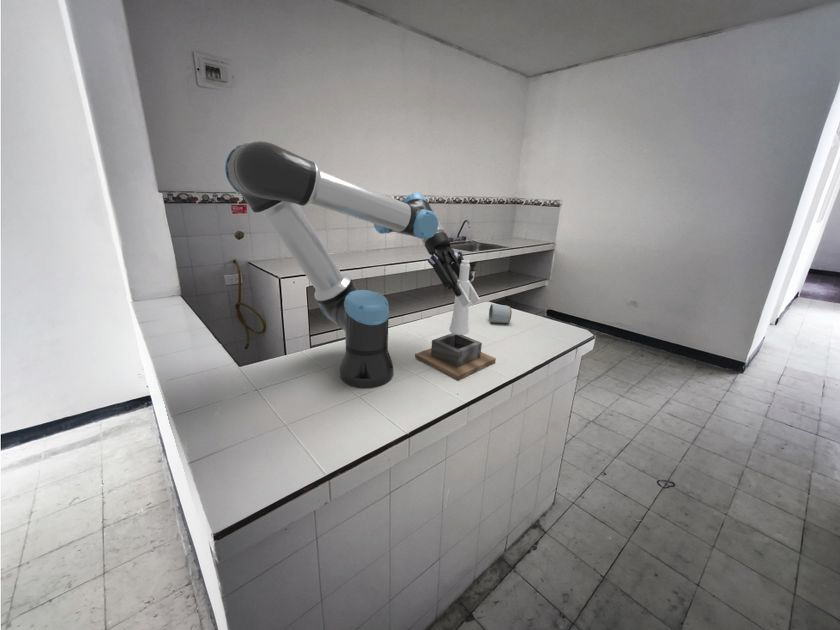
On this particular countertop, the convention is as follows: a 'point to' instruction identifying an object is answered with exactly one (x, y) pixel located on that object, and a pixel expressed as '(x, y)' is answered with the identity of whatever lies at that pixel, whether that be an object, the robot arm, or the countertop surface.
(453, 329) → the cosmetic bottle
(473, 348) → the bottle holder
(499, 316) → the ceramic mug
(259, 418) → the countertop surface
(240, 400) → the countertop surface
